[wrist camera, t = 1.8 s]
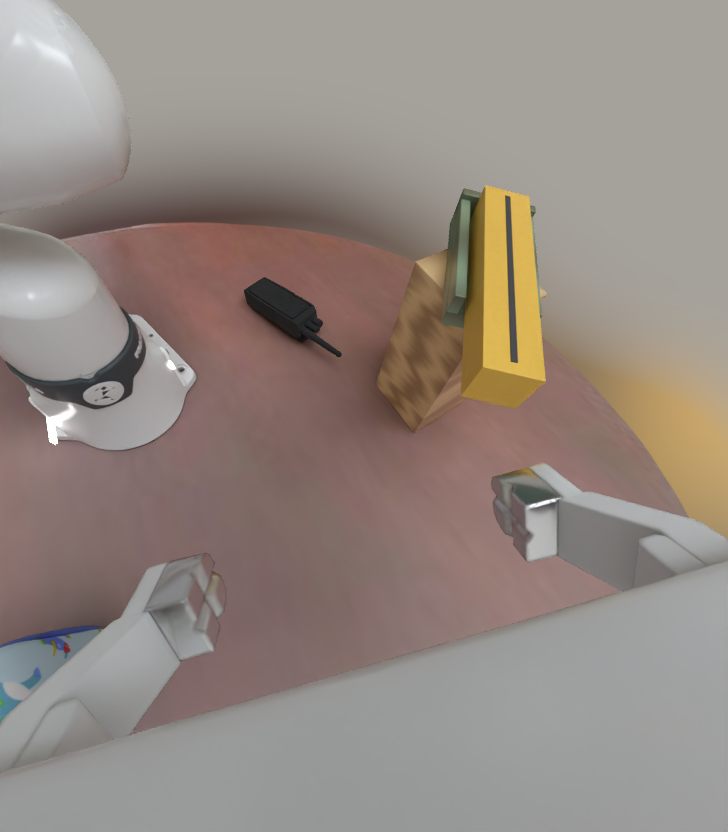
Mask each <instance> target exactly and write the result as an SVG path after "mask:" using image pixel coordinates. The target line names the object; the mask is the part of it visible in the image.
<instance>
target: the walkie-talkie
mask: <svg viewBox="0 0 728 832" xmlns="http://www.w3.org/2000/svg"><path fill="white" fill-rule="evenodd" d="M244 293H245V297H246V301H247V303H248V304H249V305H250V306H252V307H253V308H254V309H256V310H257V311H258V312H260V313H261V314H262V315H264V316H265V317H266V318H268V319H269V320H271V321H272V322H274V323H275V324H277V325H278V326H280V327H281V328H282V329H284V330H285V331H286V332H287V333H289V334H290V335H291V336H293V337H294V338H296V339H297V340H299V341H300V342H304V341H305V340H306V339H307V338H309V339H311V340H312V341H314V342H316V343H317V344H319V345H320V346H322V347H324V348H325V349H327V350H328V351H330V352H331V353H333V354H335V355H336V356H337V357H341V352H339V351H337V350H336V349H335V348H333V347H332V346H331V345H329V344H328V343H327V342H325V341H324V340H322V339H321V338H320V337H318V336H317V335H316V334H314V332H316V333H318V332H319V330H320V328H321V327H322V325H323V322H322V321H321V320H320V319H318V318H317V314H316V309H315V307H314V305H312V304H311V303H309V302H308V301H306V300H304V299H303V298H301V297H299V296H297V295H295V294H294V293H293V292H291V291H289V290H288V289H286V288H284V287H282V286H280V285H279V284H277V283H275V282H273V281H271V280H269V279H267V278H265V277H264V278H262V279H260V280H259V281H257V282H256V283H254V284H253V285H251V286H250V287H248V288H247V289H245V290H244Z"/></svg>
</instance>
